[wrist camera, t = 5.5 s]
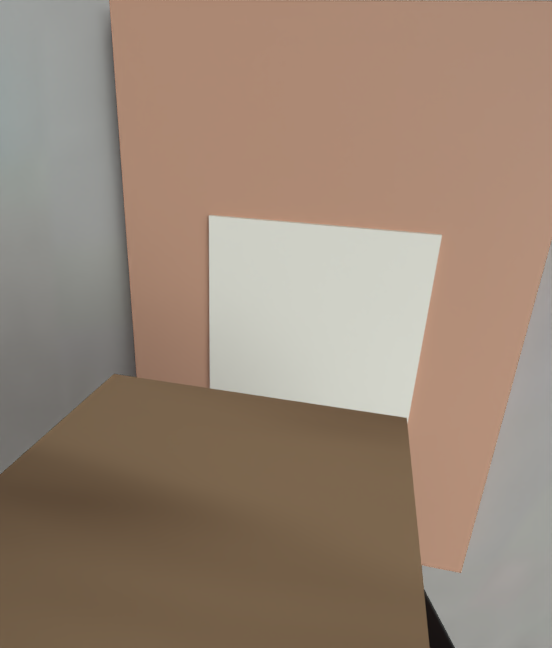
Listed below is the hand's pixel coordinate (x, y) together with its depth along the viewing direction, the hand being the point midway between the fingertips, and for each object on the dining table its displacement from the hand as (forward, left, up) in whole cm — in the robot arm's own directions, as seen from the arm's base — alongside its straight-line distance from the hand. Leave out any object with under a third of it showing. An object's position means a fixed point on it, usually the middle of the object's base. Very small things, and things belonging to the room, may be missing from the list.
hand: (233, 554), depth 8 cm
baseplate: (0, 0, -11) cm, 11 cm away
